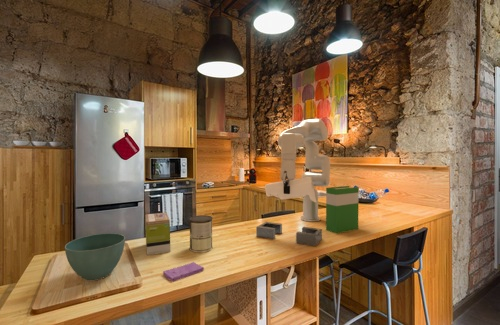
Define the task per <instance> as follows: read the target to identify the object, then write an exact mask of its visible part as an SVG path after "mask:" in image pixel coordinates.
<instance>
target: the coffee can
mask: <svg viewBox="0 0 500 325" xmlns="http://www.w3.org/2000/svg"><path fill="white" fill-rule="evenodd" d="M189 246H190V247H189V251H191V252H193V253H199V254H200V253H206V252H209V251H211V250H212V249H213V216H211V215H205V214H203V215H202V214H200V215H194V216H191V217H189Z"/></svg>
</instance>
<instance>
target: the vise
mask: <svg viewBox="0 0 500 325" xmlns="http://www.w3.org/2000/svg"><path fill="white" fill-rule="evenodd" d="M255 230H256V232H255V233H256V235H255V236H256V237H257V238H263V239H269V240H270V239H271V240H274V239H276V235H278V234H279V235H281V234H282V233H283V224H282V223H279V222H270V221H264V222H263V223H262V224H259V225H257V226H256V228H255ZM295 237H296V238H295V242H296V244H300V245H304V244H305V245H306V246H311V247H317V246H318V245H319V243H320V242H321V241H322V239H323V229H322V228H316V227H309V226H302V227H301V231H297V232H296V234H295Z"/></svg>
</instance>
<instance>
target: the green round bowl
mask: <svg viewBox="0 0 500 325" xmlns="http://www.w3.org/2000/svg"><path fill="white" fill-rule="evenodd" d="M125 243H126V236H125V235H123V234H121V233H115V232H113V233H112V232H110V233H105V232H104V233H96V234H91V235H86V236H82V237H79V238H76V239H72V240H71V241H69V242H67V243H66V244H65V245H64V251H65V256H66V257H65V258H66V259H67V262H68V264H69V265H70V267H71V269H72V271H74V272H75V273H76V275H77V276H79V277H80V278H81V279H83V280H84V281H98V280H101V278H102V279H104V278H106V277H108V276H109V275H111V273H112V272H113V271H114V269H115V268H116V266H117V265H118V264H119V262H120V260H121V257H122V255H123V252H124V248H125V245H126V244H125ZM103 277H104V278H103ZM97 279H98V280H97Z"/></svg>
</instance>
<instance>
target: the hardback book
mask: <svg viewBox="0 0 500 325" xmlns="http://www.w3.org/2000/svg"><path fill="white" fill-rule="evenodd" d="M325 188H326V189H325V194H326V195H325V197H326V198H325V199H326V200H325V202H326V203H325V214H326V215H325V231H328V232H331V233H333V234H337V235H338V234H340V233H341V234H342V233H345V232H349V231H350V232H351V231H354V230H359V200H360V198H359V195H360V194H359V191H360V190H359V189H360V188H359V186H355V187H353V186H352V187H350V185H343V186H332V187H325Z"/></svg>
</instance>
